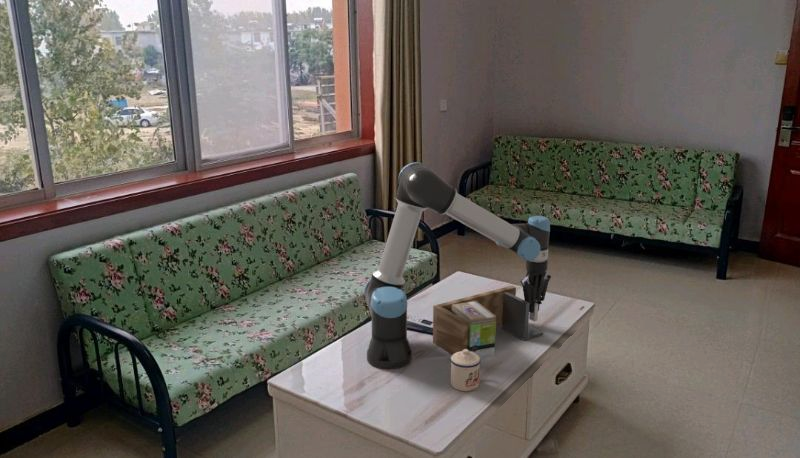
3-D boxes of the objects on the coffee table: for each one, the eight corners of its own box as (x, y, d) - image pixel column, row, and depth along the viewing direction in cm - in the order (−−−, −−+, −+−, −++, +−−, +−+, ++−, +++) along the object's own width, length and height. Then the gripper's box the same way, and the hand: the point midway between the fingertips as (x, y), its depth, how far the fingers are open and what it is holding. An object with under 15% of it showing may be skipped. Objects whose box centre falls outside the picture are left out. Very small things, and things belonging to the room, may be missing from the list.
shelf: (462, 362, 209) (463, 323, 205) (432, 342, 223) (433, 305, 219) (542, 336, 227) (544, 300, 223) (510, 319, 241) (512, 285, 237)
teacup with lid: (468, 395, 189) (469, 360, 186) (444, 385, 195) (444, 351, 191) (490, 379, 198) (491, 346, 195) (466, 370, 204) (467, 337, 200)
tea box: (495, 356, 213) (497, 316, 209) (468, 361, 210) (470, 320, 205) (475, 338, 226) (476, 299, 222) (449, 342, 223) (450, 303, 219)
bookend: (524, 340, 224) (526, 303, 220) (501, 328, 234) (503, 292, 230) (543, 334, 229) (545, 298, 225) (520, 322, 238) (522, 287, 235)
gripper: (530, 265, 220) (527, 327, 227) (557, 258, 227) (553, 319, 233) (516, 259, 226) (513, 320, 233) (542, 253, 233) (539, 312, 239)
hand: (533, 319), depth 233 cm, fingers closed
